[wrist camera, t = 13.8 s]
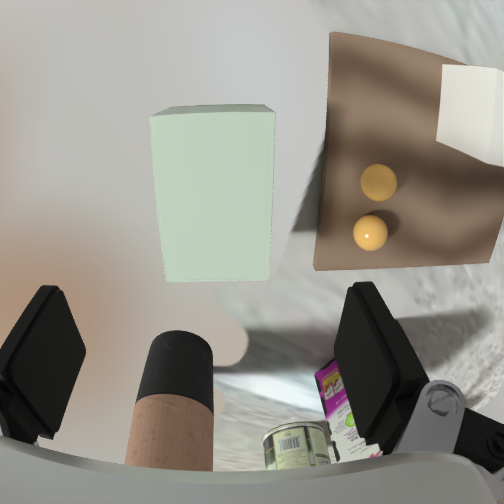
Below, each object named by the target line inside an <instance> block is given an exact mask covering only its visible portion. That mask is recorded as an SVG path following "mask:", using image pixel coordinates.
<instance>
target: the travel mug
mask: <svg viewBox="0 0 504 504" xmlns="http://www.w3.org/2000/svg"><path fill="white" fill-rule="evenodd" d="M213 429H214V405H213V354H212V350H211V348H210V346H209V344H208V343H207V342H206V341H205V340H204V339H203V338H201V337H200V336H198V335H195V334H193V333H190V332H187V331H179V330H178V331H177V330H174V331H167V332H164V333H162V334H160V335H158V336H157V337H156V338H155V339H154V340H153V342H152V344H151V347H150V350H149V354H148V357H147V361H146V364H145V368H144V372H143V375H142V379H141V384H140V388H139V391H138V395H137V399H136V403H135V407H134V412H133V418H132V424H131V429H130V435H129V441H128V447H127V453H126V459H125V465H131V466H139V467H147V468H157V469H169V470H184V471H210V472H213Z"/></svg>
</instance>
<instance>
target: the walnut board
mask: <svg viewBox="0 0 504 504" xmlns="http://www.w3.org/2000/svg"><path fill="white" fill-rule="evenodd" d="M442 64H447V65H465V66H469V65H466V64H464V63H461V62H458V61H455V60H452V59H449V58H446V57H443V56H440V55H437V54H434V53H430V52H427V51H423V50H420V49H416V48H413V47H409V46H405V45H401V44H397V43H393V42H388V41H384V40H379V39H374V38H369V37H364V36H358V35H352V34H346V33H340V32H331V33H329V72H328V98H327V116H326V133H325V147H324V161H323V173H322V185H321V196H320V207H319V217H318V226H317V235H316V244H315V253H314V261H313V266H314V269H315V271H329V270H356V269H380V268H403V267H423V266H443V265H461V264H478V263H489V260H490V258H491V255H492V252H493V249H494V246H495V243H496V240H497V237H498V233H499V230H500V227H501V223H502V220H503V216H504V167H502V166H497V165H492V164H487V163H485V162H483V161H481V160H479V159H477V158H474V157H472V156H470V155H468V154H466V153H463V152H461V151H459V150H457V149H454V148H452V147H450V146H447V145H445V144H443V143H440V142H438V141H436V136H437V128H438V119H439V109H440V98H441V84H442ZM373 164H383V165H386V166H388V167H389V168H390V169H391V170H392V171H393V172H394V174H395V176H396V178H397V189H396V191H395V193H394V195H393V196H392V197H391V198H389V199H388V200H386V201H381V202H378V201H373V200H371V199H369V198H368V197H367V196H366V195H365V194H364V193H363V191H362V189H361V185H360V179H361V175H362V173H363V171H364V170H365V169H366V168H367V167H368V166H370V165H373ZM366 215H375V216H378V217H379V218H381V219H382V220H383V221H384V222H385V224H386V226H387V229H388V237H387V240H386V242H385V244H384V245H383V246H382V247H381V248H379V249H377V250H374V251H367V250H364V249H362V248H361V247H359V246H358V245H357V243H356V242H355V240H354V237H353V229H354V226H355V224H356V222H357V221H358V220H359V219H360V218H361V217H363V216H366Z"/></svg>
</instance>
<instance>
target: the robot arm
mask: <svg viewBox="0 0 504 504" xmlns="http://www.w3.org/2000/svg"><path fill="white" fill-rule="evenodd" d="M85 355H86V349H85V345H84V343H83V340H82V338H81V336H80V333H79V331H78V329H77V326H76V324H75V321H74V319H73V316H72V313H71V311H70V308H69V306H68V303H67V300H66V298H65V295H64V293H63V291H61V290H60V289H59V287H58V286H54V285H53V286H52V285H51V286H50V285H43V286H41V287H40V288H39V290H38V291H37V292H36V294H35V295H34V297H33V298H32V300H31V301H30V303H29V304H28V306H27V307H26V309H25V310H24V312H23V313H22V315H21V316H20V318H19V320H18V321H17V323H16V324H15V326H14V327H13V329H12V330H11V332H10V334H9V335H8V337H7V339H6V340H5V342H4V344H3V345H2V347H1V349H0V504H504V424H501V423H499V422H497V421H495V420H492V419H490V418H488V417H485V416H483V415H481V414H479V413H477V412H475V411H472V410H470V409H468V408H466V407H465V398H464V395H463V393H462V392H461V390H460V389H459V388H458V387H457V386H456V385H454V384H452V383H451V382H449V381H445V380H434V381H431V382H430V380H429V378H428V376H427V375H426V373H425V371H424V369H423V367H422V365H421V363H420V361H419V359H418V357H417V355H416V353H415V351H414V349H413V348H412V346H411V344H410V342H409V340H408V338H407V336H406V335H405V333H404V331H403V329H402V327H401V326H400V324H399V323H398V321H397V320H395V319H394V318H393V316H392V314H391V313H390V311H389V309H388V307H387V306H386V304H385V302H384V300H383V299H382V297H381V295H380V293H379V292H378V290H377V288H376V287H375V285H374V283H373V282H371V281H368V282H355V283H354V284H353V287H349V288H348V290H347V294H346V299H345V303H344V308H343V312H342V316H341V321H340V325H339V329H338V333H337V337H336V341H335V345H334V355H335V359H336V362H337V365H338V368H339V372H340V375H341V378H342V381H343V385H344V388H345V391H346V395H347V398H348V401H349V405H350V408H351V411H352V415H353V418H354V422H355V425H356V429H357V432H358V435H359V437H360V438H364V439H365V443H366V446H369V445H374V444H378V446H379V449H380V450H381V451H382V452H381V454H380V455H379V456H377V457H371V458H365V459H359V460H354V461H348V462H341V463H334V464H327V465H319V466H311V467H302V468H292V469H280V470H265V471H239V472H210V471H184V470H169V469H157V468H147V467H139V466H131V465H123V464H117V463H110V462H104V461H99V460H93V459H88V458H83V457H79V456H74V455H70V454H65V453H61V452H57V451H53V450H49V449H46V448H41V447H39V444H38V442H37V438H38V435H39V436H40V437H43V438H47V439H51V440H53V437H54V434H55V433H56V432H58V430H59V428H60V425H61V422H62V419H63V416H64V413H65V410H66V407H67V404H68V401H69V398H70V396H71V393H72V390H73V387H74V384H75V382H76V379H77V376H78V374H79V371H80V368H81V366H82V363H83V361H84V358H85Z"/></svg>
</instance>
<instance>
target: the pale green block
mask: <svg viewBox="0 0 504 504" xmlns="http://www.w3.org/2000/svg"><path fill="white" fill-rule="evenodd" d="M149 122H150V137H151V138H150V139H151V154H152V165H153V178H154V189H155V198H156V208H157V216H158V225H159V233H160V241H161V249H162V256H163V263H164V269H165V276H166V282H214V281H215V282H218V281H219V282H220V281H266V280H269V270H270V248H271V223H272V201H273V200H272V199H273V174H274V144H275V143H274V142H275V112H274V111H272V110H271V109H269V108H268V107H266V106H265V105H249V104H247V105H246V104H244V105H242V104H241V105H239V104H238V105H199V106H182V107H170V108H168V109H165V110H163V111H161V112H158V113H156V114H154V115H151V116H149Z"/></svg>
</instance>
